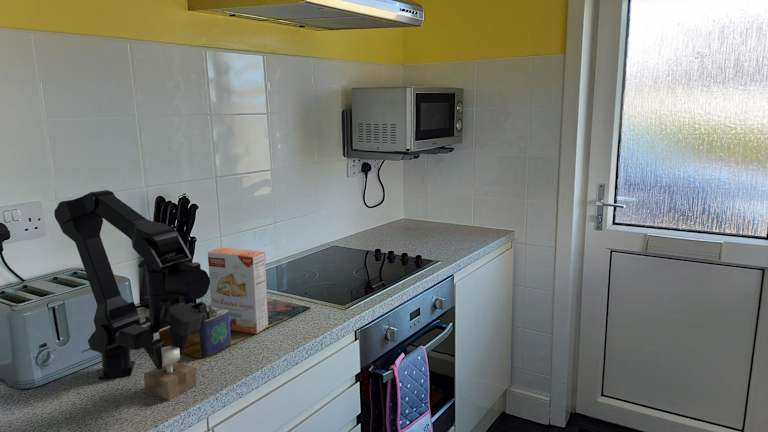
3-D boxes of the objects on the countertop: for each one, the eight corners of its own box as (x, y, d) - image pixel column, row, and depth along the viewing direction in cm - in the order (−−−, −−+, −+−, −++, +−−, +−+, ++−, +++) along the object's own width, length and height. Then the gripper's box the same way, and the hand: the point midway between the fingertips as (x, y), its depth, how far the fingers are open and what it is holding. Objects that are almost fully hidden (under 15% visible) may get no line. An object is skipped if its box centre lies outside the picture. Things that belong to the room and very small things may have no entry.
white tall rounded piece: (154, 389, 114) (151, 352, 112) (172, 380, 118) (169, 344, 116) (169, 394, 112) (166, 356, 110) (187, 385, 116) (184, 348, 114)
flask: (225, 342, 138) (223, 301, 136) (235, 344, 137) (232, 303, 135) (197, 356, 130) (194, 313, 128) (207, 359, 129) (204, 315, 127)
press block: (145, 392, 113) (143, 374, 113) (173, 378, 119) (171, 360, 119) (169, 400, 110) (167, 381, 109) (196, 385, 116) (195, 367, 115)
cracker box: (211, 328, 147) (206, 251, 143) (225, 320, 152) (221, 246, 149) (256, 335, 142) (252, 256, 138) (269, 327, 147) (265, 250, 144)
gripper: (151, 312, 99) (158, 393, 102) (226, 284, 115) (231, 354, 118) (110, 302, 104) (118, 380, 107) (188, 276, 120) (193, 344, 123)
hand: (169, 364), depth 114 cm, fingers closed on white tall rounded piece, 4 cm apart
